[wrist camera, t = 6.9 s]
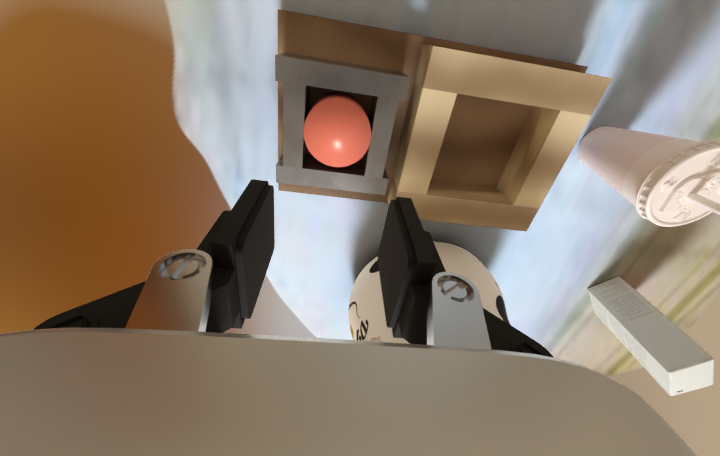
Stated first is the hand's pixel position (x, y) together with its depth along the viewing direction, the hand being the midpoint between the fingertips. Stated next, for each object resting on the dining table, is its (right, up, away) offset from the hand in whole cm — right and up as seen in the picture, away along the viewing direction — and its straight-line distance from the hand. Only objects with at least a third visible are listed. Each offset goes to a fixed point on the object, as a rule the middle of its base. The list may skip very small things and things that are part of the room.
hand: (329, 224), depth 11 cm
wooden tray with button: (+6, +9, +15) cm, 19 cm away
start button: (-1, +9, +13) cm, 15 cm away
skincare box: (+35, -9, +29) cm, 46 cm away
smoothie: (+24, +8, +17) cm, 31 cm away
